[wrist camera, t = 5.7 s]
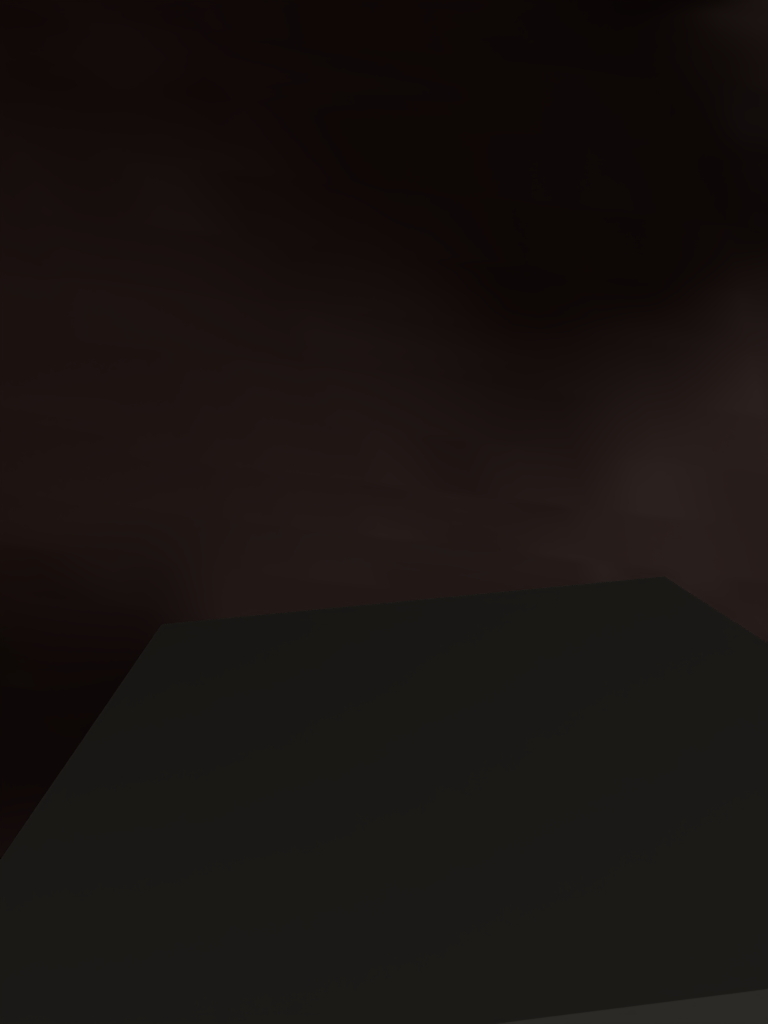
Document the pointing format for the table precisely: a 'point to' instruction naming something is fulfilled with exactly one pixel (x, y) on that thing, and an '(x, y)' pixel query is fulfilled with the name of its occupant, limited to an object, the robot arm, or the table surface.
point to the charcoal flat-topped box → (410, 822)
